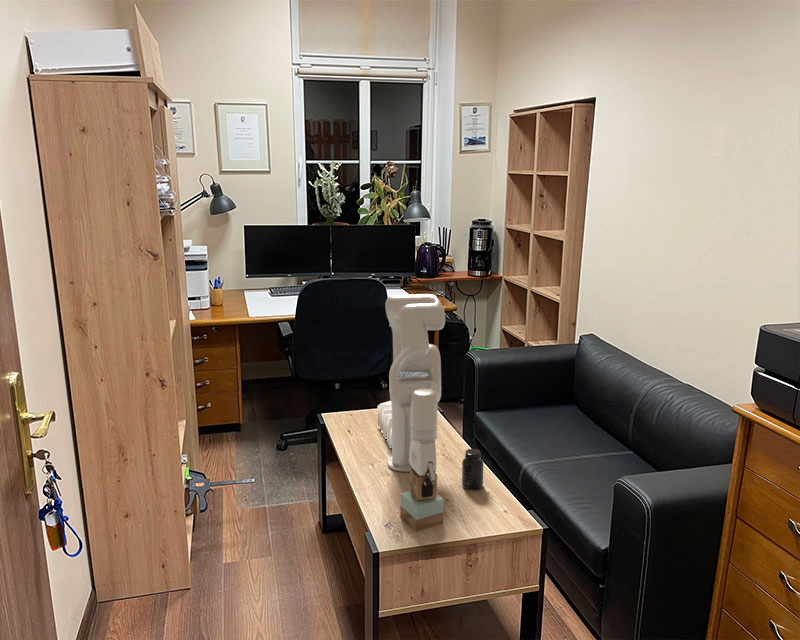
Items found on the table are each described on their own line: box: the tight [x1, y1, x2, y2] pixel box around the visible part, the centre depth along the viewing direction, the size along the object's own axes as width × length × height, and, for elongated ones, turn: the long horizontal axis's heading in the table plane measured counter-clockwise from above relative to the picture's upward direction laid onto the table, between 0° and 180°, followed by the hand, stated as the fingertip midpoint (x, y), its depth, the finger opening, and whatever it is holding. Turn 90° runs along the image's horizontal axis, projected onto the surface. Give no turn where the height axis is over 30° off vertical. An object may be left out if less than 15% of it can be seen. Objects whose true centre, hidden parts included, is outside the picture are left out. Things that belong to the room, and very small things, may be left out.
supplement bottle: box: [461, 448, 484, 491], centre depth 209 cm, size 7×7×12 cm
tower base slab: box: [399, 505, 444, 532], centre depth 189 cm, size 9×9×4 cm
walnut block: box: [409, 469, 438, 501], centre depth 187 cm, size 6×6×7 cm
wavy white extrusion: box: [377, 400, 392, 449], centre depth 250 cm, size 35×16×10 cm, turn 11°
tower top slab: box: [400, 490, 445, 520], centre depth 188 cm, size 9×9×4 cm
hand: (423, 490), depth 188 cm, fingers closed on walnut block, 5 cm apart
